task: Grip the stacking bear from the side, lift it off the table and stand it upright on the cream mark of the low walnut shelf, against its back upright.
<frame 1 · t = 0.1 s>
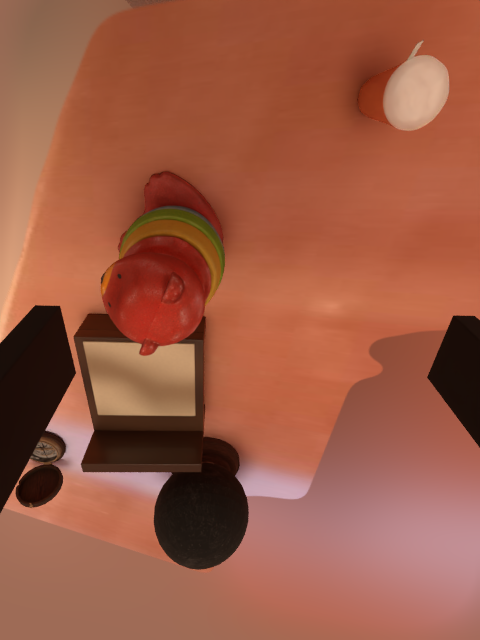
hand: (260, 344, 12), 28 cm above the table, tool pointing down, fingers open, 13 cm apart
milkshake: (373, 92, 32), on the table
snow globe: (204, 460, 58), on the table
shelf: (152, 367, 47), on the table
stacking bear: (178, 235, 38), on the table
compass: (40, 446, 54), on the table
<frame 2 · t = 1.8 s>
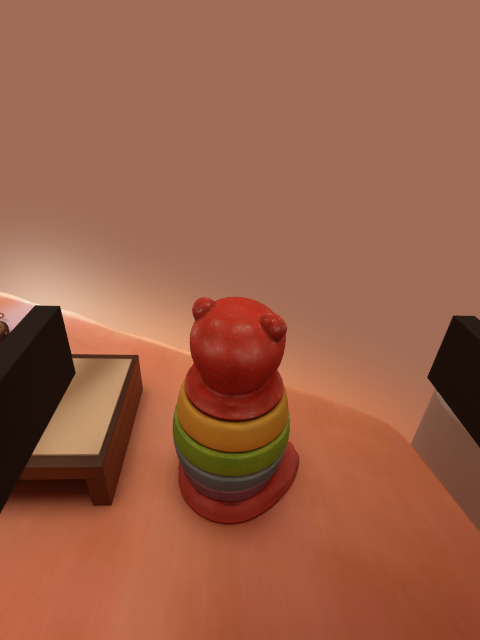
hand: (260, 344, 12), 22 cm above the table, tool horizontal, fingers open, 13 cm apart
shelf: (46, 437, 35), on the table
stacking bear: (230, 473, 33), on the table
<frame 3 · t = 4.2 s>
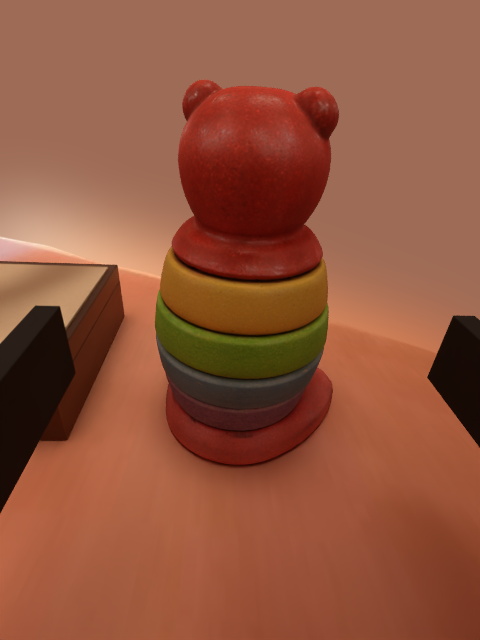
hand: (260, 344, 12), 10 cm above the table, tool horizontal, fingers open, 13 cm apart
stacking bear: (238, 406, 24), on the table
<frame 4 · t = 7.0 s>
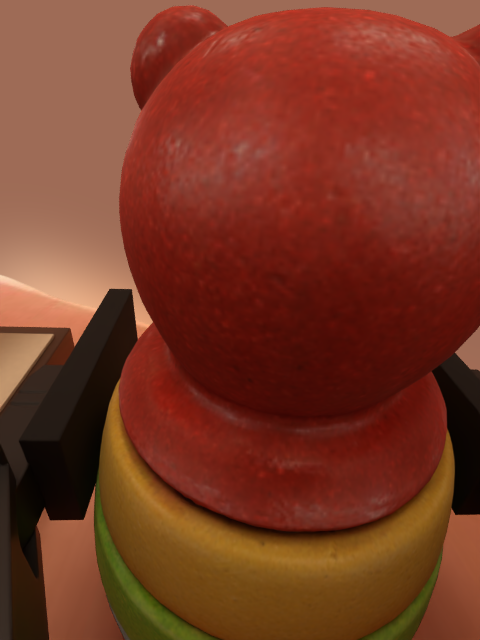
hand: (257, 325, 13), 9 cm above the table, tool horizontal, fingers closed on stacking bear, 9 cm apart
stacking bear: (251, 583, 15), on the table, touching gripper
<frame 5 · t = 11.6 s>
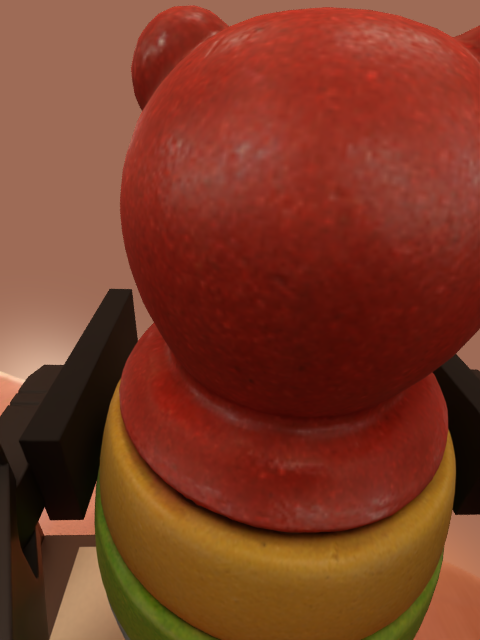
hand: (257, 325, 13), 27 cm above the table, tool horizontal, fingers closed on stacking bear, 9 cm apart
stacking bear: (251, 583, 15), point 17 cm above the table, touching gripper
when the fingers open (15 cm above the table, at t = 16.3 s): stacking bear stays where it is, resting on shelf.
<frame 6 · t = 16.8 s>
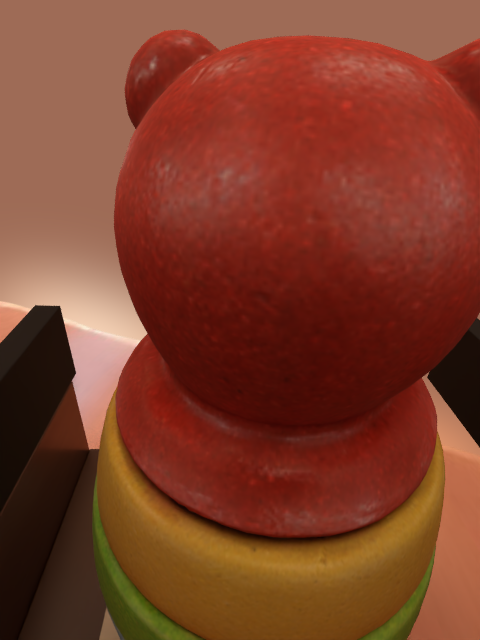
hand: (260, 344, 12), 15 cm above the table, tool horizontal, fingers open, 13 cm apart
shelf: (199, 638, 17), on the table
stacking bear: (249, 587, 15), point 5 cm above the table, touching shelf
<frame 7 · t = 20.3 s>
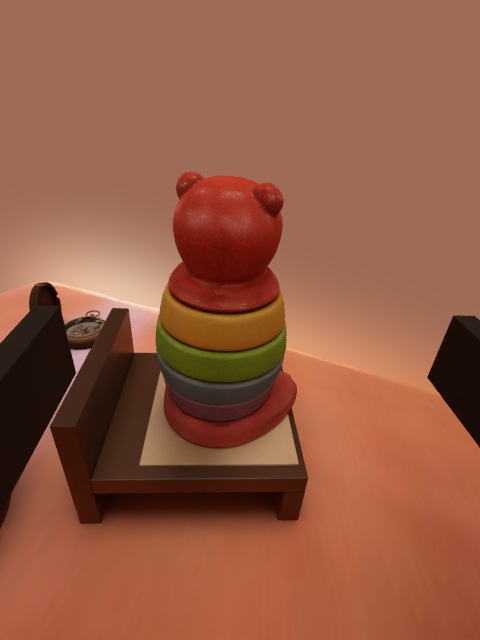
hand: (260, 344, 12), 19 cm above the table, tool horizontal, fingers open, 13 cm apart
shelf: (196, 444, 32), on the table
stacking bear: (221, 403, 30), point 5 cm above the table, touching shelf
compass: (81, 333, 47), on the table
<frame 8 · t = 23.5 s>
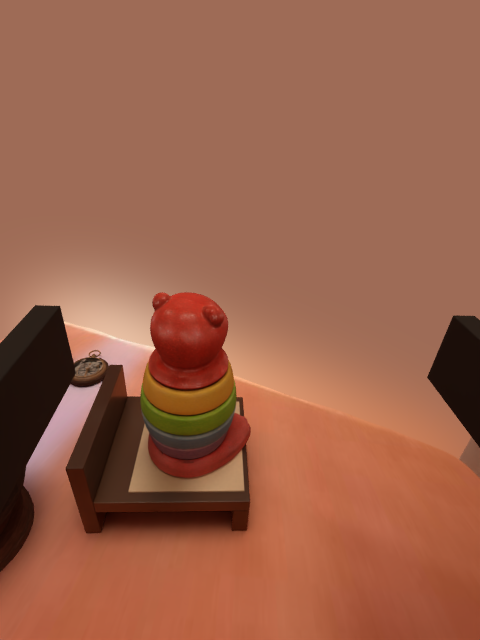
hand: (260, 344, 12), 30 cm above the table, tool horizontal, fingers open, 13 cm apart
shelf: (175, 470, 42), on the table
stacking bear: (192, 441, 39), point 5 cm above the table, touching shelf
compass: (85, 371, 56), on the table
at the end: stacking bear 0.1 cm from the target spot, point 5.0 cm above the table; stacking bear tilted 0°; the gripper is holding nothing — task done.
